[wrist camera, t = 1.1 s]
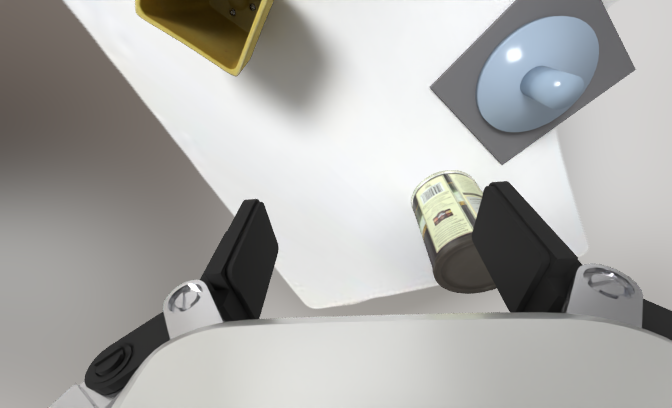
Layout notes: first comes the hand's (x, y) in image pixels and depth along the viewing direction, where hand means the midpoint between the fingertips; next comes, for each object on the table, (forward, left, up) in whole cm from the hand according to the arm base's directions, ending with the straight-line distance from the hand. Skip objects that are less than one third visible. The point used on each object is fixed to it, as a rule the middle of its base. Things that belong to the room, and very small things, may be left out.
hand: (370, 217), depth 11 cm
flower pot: (+2, -15, -26) cm, 30 cm away
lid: (-13, +15, -25) cm, 32 cm away
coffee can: (+4, +22, -26) cm, 34 cm away
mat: (-13, +15, -26) cm, 33 cm away
